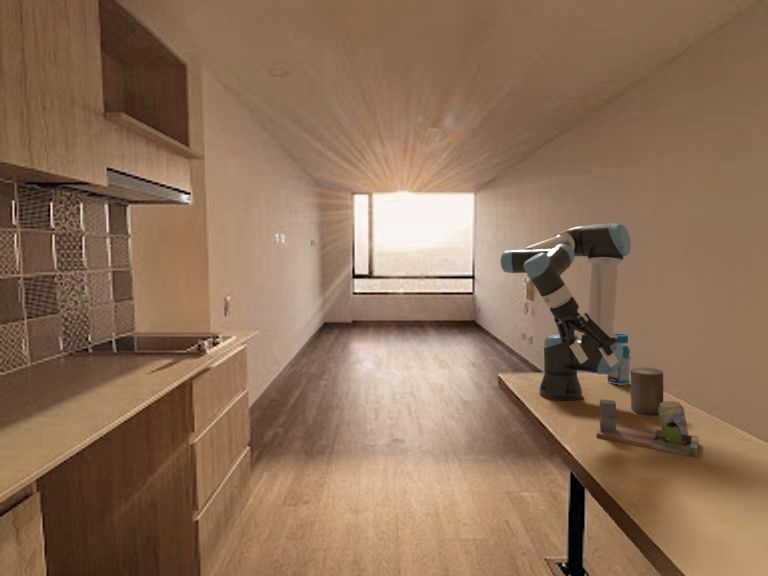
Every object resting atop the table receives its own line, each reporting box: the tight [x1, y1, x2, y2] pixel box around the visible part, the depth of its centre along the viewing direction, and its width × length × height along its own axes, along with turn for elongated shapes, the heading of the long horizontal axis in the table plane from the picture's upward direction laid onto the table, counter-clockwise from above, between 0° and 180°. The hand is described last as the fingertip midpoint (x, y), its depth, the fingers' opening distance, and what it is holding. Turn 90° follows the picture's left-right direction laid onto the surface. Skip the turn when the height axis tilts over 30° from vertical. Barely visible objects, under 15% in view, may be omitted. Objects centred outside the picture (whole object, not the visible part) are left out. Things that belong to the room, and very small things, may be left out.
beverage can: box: [658, 400, 691, 446], centre depth 125 cm, size 6×7×12 cm
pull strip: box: [596, 398, 700, 458], centre depth 129 cm, size 10×24×10 cm, turn 53°
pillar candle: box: [630, 366, 664, 416], centre depth 154 cm, size 10×10×15 cm
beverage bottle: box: [607, 333, 631, 386], centre depth 188 cm, size 8×8×20 cm
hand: (598, 362), depth 135 cm, fingers open, 13 cm apart
